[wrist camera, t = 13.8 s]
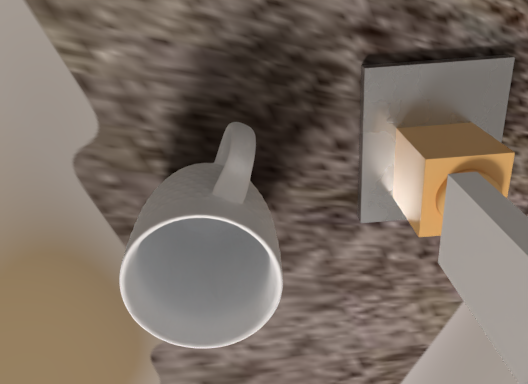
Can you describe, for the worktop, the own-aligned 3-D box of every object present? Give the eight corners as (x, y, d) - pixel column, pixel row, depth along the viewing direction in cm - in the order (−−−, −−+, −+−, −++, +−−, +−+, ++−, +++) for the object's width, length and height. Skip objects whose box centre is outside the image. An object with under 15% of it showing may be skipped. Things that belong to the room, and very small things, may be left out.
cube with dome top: (396, 128, 41) (431, 166, 34) (471, 122, 41) (523, 158, 34) (392, 196, 44) (424, 245, 37) (463, 191, 44) (509, 238, 37)
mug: (178, 81, 40) (154, 134, 28) (304, 122, 42) (332, 188, 30) (135, 233, 46) (101, 331, 34) (248, 263, 48) (253, 364, 36)
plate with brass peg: (361, 65, 40) (383, 84, 34) (507, 54, 40) (555, 71, 34) (357, 216, 46) (376, 256, 40) (484, 206, 46) (521, 244, 40)
